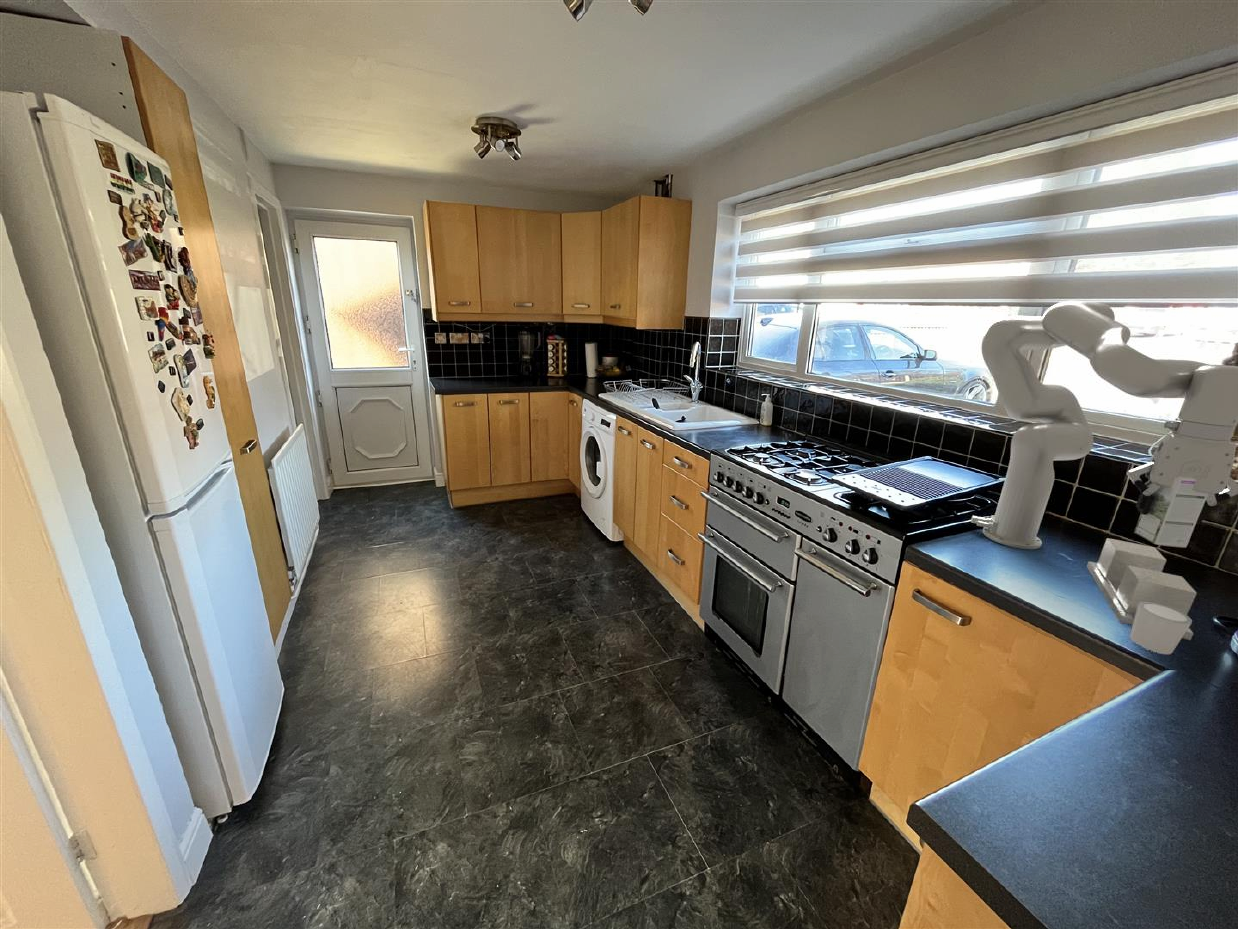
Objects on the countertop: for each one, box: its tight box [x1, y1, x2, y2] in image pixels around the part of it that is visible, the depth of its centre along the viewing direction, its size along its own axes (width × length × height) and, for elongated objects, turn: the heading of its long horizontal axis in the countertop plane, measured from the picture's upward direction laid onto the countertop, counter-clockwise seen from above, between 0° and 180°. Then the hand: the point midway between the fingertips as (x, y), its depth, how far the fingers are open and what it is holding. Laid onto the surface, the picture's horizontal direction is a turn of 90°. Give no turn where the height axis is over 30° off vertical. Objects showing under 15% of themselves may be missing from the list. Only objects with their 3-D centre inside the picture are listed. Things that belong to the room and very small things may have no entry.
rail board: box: [1086, 537, 1197, 641], centre depth 106 cm, size 10×26×9 cm, turn 149°
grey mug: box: [1129, 602, 1193, 655], centre depth 91 cm, size 7×7×7 cm
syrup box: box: [1133, 476, 1208, 548], centre depth 100 cm, size 6×6×14 cm
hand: (1168, 516), depth 101 cm, fingers closed on syrup box, 7 cm apart
